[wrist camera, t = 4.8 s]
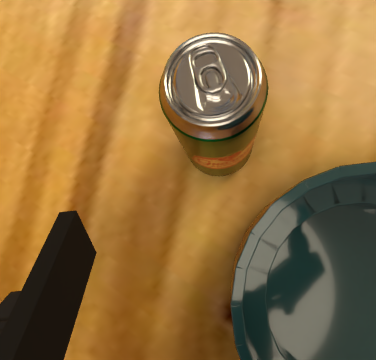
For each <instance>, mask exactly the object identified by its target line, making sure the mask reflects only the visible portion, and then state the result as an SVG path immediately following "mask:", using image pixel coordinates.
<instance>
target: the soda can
mask: <svg viewBox="0 0 376 360" xmlns="http://www.w3.org/2000/svg"><path fill="white" fill-rule="evenodd" d="M267 95H268V81H267V76H266V73H265V69H264V67H263V65H262V64H261V62H260V60H259V59H258V58H257V56H256V55H255V54H254V52H253V51H252V50H251V48H250V47H249V46H248V45H247V44H246V43H244V42H243V41H241V40H240V39H238V38H236V37H234V36H231V35H228V34H223V33H206V34H201V35H198V36H195V37H192V38H190V39H188V40H187V41H185V42H184V43H182V44H181V45H180V46H179V47H178V48H177V49H176V50H175V51H174V52H173V53H172V54H171V56H170V58H169V59H168V61H167V63H166V66H165V69H164V71H163V74H162V76H161V80H160V84H159V100H160V104H161V108H162V110H163V113H164V115H165V117H166V118H167V120H168V122H169V124H170V125H171V127H172V129H173V131H174V132H175V134H176V136H177V138H178V139H179V141H180V143H181V145H182V146H183V148H184V150H185V152H186V153H187V155H188V157H189V159H190V160H191V162H192V163H193V165H194V166H195V167H196V168H197V169H199V170H200V171H202V172H203V173H206V174H208V175H212V176H226V175H229V174H232V173H234V172H236V171H237V170H239V169H240V168H241V167H242V166H244V164H245V163H246V162H247V160H248V158H249V157H250V154H251V151H252V148H253V144H254V141H255V138H256V134H257V131H258V128H259V124H260V121H261V117H262V114H263V111H264V107H265V104H266V100H267Z"/></svg>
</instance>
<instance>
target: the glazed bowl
mask: <svg viewBox="0 0 376 360" xmlns="http://www.w3.org/2000/svg"><path fill="white" fill-rule="evenodd" d="M230 307H231V315H232V323H233V332H234V340H235V345H236V349H237V352H238V354H239V357H240V360H376V162H369V163H361V164H353V165H344V166H339V167H335V168H333V169H330V170H328V171H325V172H323V173H320V174H318V175H315V176H312V177H310V178H307V179H305V180H303V181H301V182H300V183H298V184H296V185H295V186H293V187H292V188H290V189H289V190H287V191H286V192H284V193H283V194H282V195H280V196H279V197H278V198H276V199H275V200H274V201H272V202H271V203H270V204H268V205H267V206H266V207H265V208H264V209H263V210H262V211H261V213H260V214H259V215H258V217H257V218H256V219H255V220H254V222H253V223H252V224H251V225H250V227H249V228H248V229H247V231H246V233H245V235H244V237H243V240H242V242H241V245H240V247H239V249H238V252H237V254H236V257H235V260H234V265H233V273H232V280H231V288H230Z"/></svg>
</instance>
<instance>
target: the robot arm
mask: <svg viewBox="0 0 376 360" xmlns="http://www.w3.org/2000/svg"><path fill="white" fill-rule="evenodd" d="M95 256H96V251H95V249H94V246H93V244H92V242H91V240H90V238H89V236H88V234H87V232H86V230H85V228H84V226H83V224H82V222H81V219H80V217H79V215H78V213H77V211H67V212H59V215H58V217H57V219H56V221H55V223H54V225H53V227H52V229H51V231H50V233H49V235H48V237H47V239H46V241H45V243H44V245H43V247H42V249H41V252H40V254H39V256H38V258H37V260H36V262H35V264H34V266H33V268H32V270H31V272H30V274H29V276H28V278H27V280H26V282H25V284H24V287H23V289H22V291H15V292H11V293H10V294H9V295H8V296H7V297H6V298H5V299H4V300H3V301H2V302H1V304H0V360H64V357H65V354H66V350H67V347H68V344H69V341H70V337H71V334H72V331H73V328H74V324H75V321H76V318H77V315H78V311H79V308H80V305H81V302H82V298H83V295H84V292H85V289H86V285H87V282H88V279H89V276H90V272H91V269H92V266H93V263H94V259H95Z"/></svg>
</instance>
